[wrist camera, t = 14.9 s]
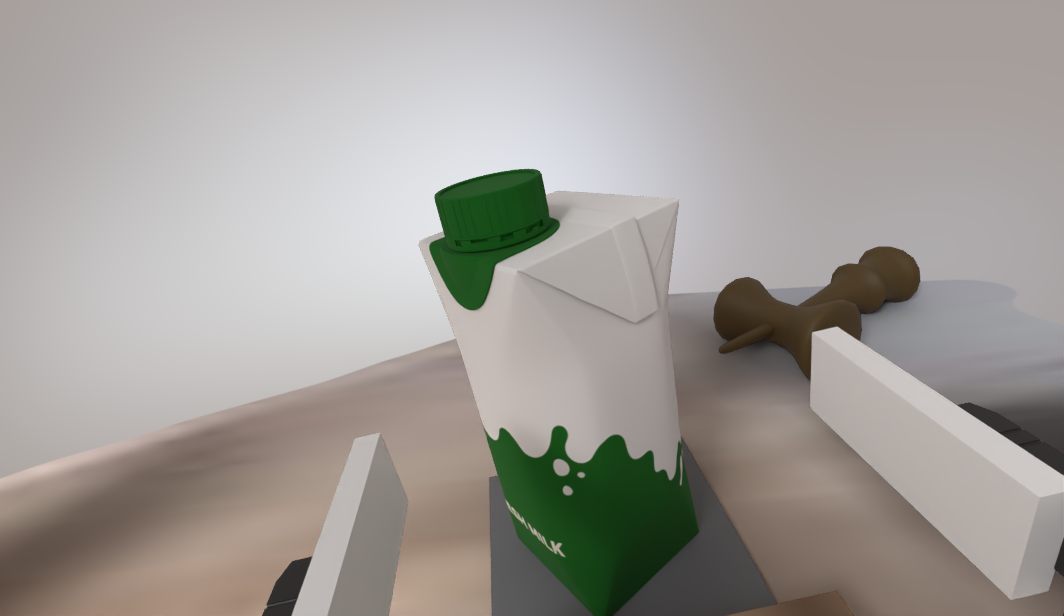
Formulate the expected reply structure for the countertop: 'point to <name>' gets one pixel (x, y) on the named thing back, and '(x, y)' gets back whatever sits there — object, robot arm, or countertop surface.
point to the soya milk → (571, 371)
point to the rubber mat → (666, 599)
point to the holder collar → (805, 607)
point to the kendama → (814, 304)
